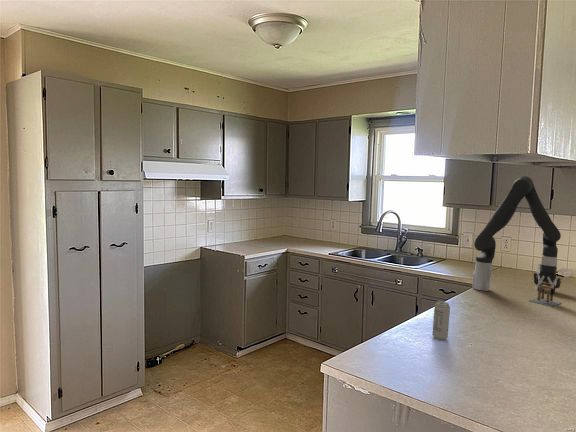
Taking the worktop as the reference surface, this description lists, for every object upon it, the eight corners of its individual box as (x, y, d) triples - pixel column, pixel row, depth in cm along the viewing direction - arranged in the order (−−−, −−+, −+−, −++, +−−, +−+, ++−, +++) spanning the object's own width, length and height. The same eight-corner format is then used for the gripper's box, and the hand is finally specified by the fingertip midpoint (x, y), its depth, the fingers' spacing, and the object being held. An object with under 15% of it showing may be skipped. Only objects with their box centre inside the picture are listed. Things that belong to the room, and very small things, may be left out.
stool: (536, 299, 237) (538, 286, 236) (541, 298, 240) (543, 284, 240) (548, 302, 232) (549, 288, 231) (553, 301, 236) (554, 287, 235)
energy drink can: (450, 340, 173) (453, 305, 171) (437, 341, 171) (440, 305, 170) (442, 335, 178) (445, 300, 177) (429, 335, 177) (432, 300, 176)
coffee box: (538, 291, 260) (540, 265, 259) (534, 288, 266) (537, 263, 265) (554, 293, 258) (557, 267, 257) (550, 290, 264) (553, 265, 263)
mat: (528, 301, 238) (528, 300, 238) (538, 298, 245) (538, 297, 245) (551, 306, 228) (551, 306, 228) (561, 303, 235) (561, 303, 235)
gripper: (532, 262, 238) (529, 291, 239) (560, 267, 226) (556, 297, 228) (538, 261, 242) (535, 289, 244) (566, 266, 231) (562, 295, 232)
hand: (545, 293), depth 236 cm, fingers closed on stool, 6 cm apart
